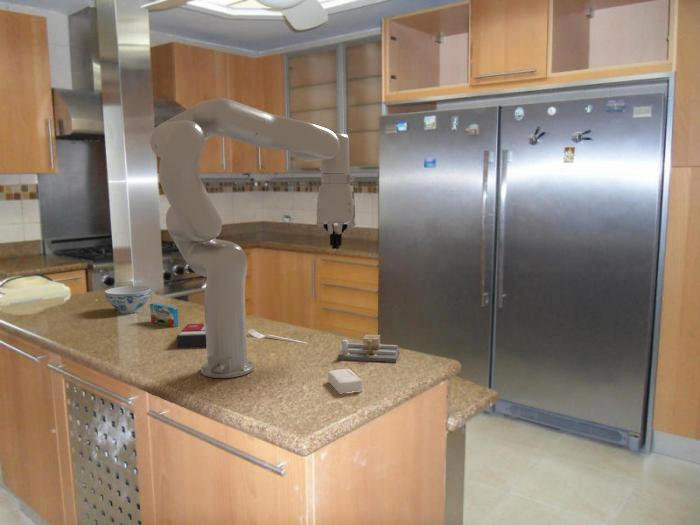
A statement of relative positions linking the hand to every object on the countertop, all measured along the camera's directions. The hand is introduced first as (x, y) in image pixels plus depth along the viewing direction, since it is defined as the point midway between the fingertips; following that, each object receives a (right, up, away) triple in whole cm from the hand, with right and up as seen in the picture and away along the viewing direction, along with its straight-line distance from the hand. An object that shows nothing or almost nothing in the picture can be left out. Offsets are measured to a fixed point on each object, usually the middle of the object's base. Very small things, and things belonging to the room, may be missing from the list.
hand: (336, 248), depth 159 cm
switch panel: (+9, -28, -7) cm, 30 cm away
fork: (-17, -27, +10) cm, 33 cm away
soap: (+3, -32, -29) cm, 43 cm away
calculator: (-39, -27, +9) cm, 48 cm away
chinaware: (-74, -21, +46) cm, 89 cm away
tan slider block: (+9, -27, -7) cm, 29 cm away
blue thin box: (-56, -24, +28) cm, 67 cm away
